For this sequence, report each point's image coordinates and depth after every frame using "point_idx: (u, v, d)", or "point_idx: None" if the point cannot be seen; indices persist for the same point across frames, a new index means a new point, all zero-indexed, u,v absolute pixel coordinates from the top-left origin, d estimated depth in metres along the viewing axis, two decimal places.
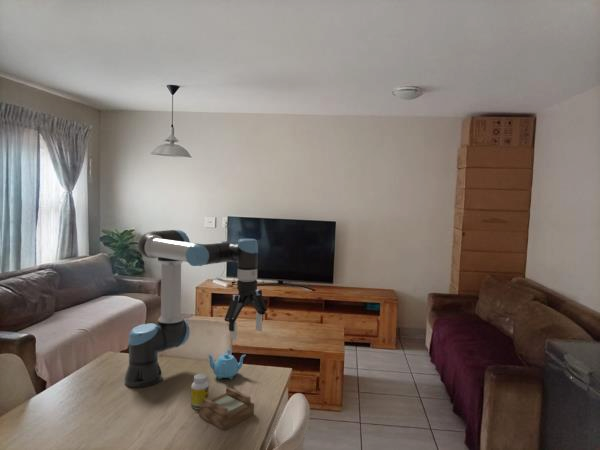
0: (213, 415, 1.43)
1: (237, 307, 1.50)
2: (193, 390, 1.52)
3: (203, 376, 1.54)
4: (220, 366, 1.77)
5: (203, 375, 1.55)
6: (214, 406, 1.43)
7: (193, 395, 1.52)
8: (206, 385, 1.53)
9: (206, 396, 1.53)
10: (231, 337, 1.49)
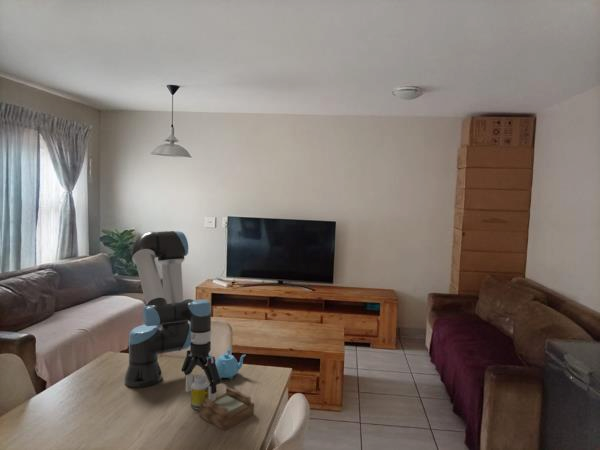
0: (213, 415, 1.43)
1: None
2: (193, 390, 1.52)
3: (203, 376, 1.54)
4: (220, 366, 1.77)
5: (203, 375, 1.55)
6: (214, 406, 1.43)
7: (193, 395, 1.52)
8: (206, 385, 1.53)
9: (206, 396, 1.53)
10: None
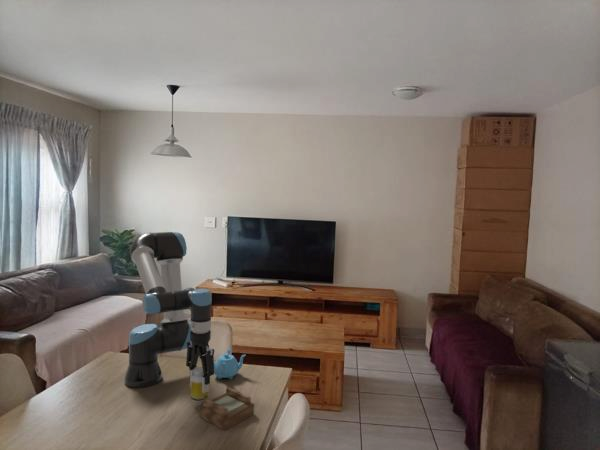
0: (213, 415, 1.43)
1: None
2: (193, 383, 1.53)
3: None
4: (220, 366, 1.77)
5: None
6: (214, 406, 1.43)
7: (193, 388, 1.53)
8: None
9: None
10: None
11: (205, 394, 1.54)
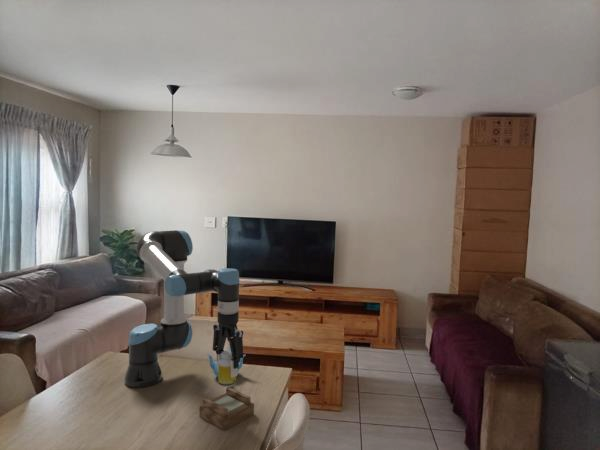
0: (213, 415, 1.43)
1: None
2: (221, 367, 1.45)
3: (231, 353, 1.47)
4: None
5: None
6: (214, 406, 1.43)
7: (221, 372, 1.45)
8: None
9: None
10: None
11: (234, 379, 1.46)
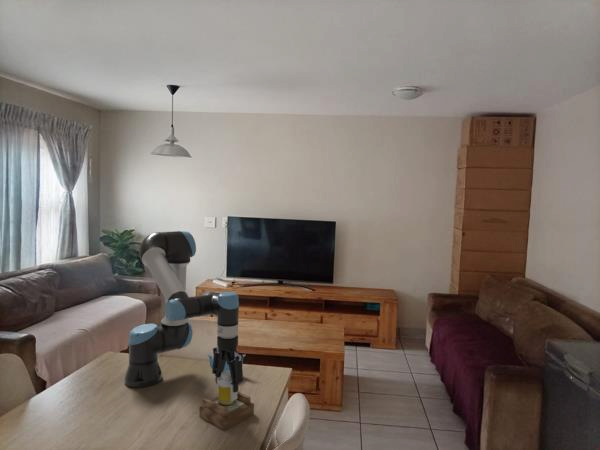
0: (213, 415, 1.43)
1: None
2: (220, 388, 1.45)
3: None
4: None
5: None
6: (214, 406, 1.43)
7: (220, 393, 1.46)
8: None
9: None
10: None
11: None
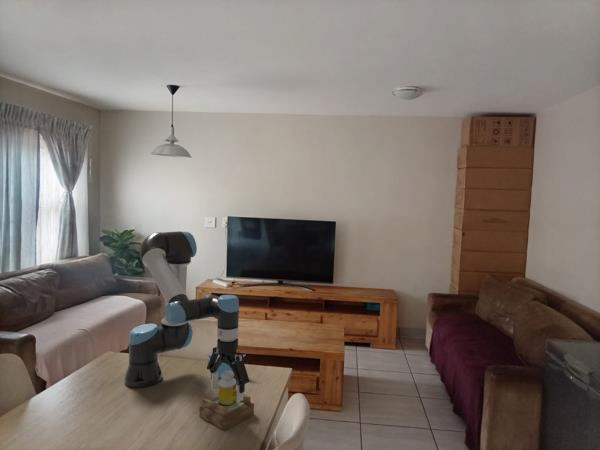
0: (213, 415, 1.43)
1: None
2: (220, 388, 1.45)
3: (230, 373, 1.48)
4: (220, 366, 1.77)
5: (230, 372, 1.49)
6: (214, 406, 1.43)
7: (220, 393, 1.46)
8: (234, 382, 1.47)
9: (234, 394, 1.47)
10: None
11: (233, 399, 1.47)
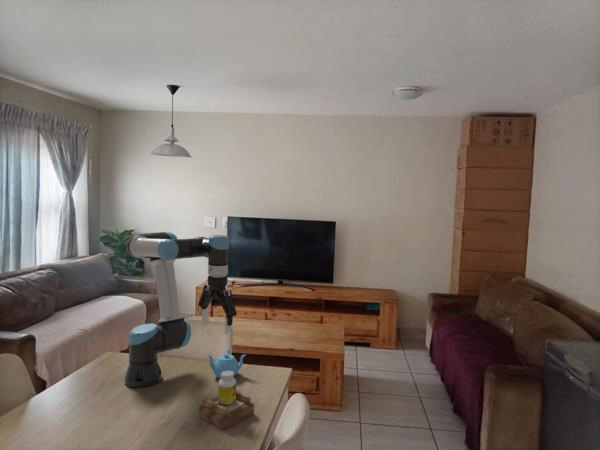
0: (213, 415, 1.43)
1: None
2: (220, 388, 1.45)
3: (230, 373, 1.48)
4: (220, 366, 1.77)
5: (230, 372, 1.49)
6: (214, 406, 1.43)
7: (220, 393, 1.46)
8: (234, 382, 1.47)
9: (234, 394, 1.47)
10: None
11: (233, 399, 1.47)
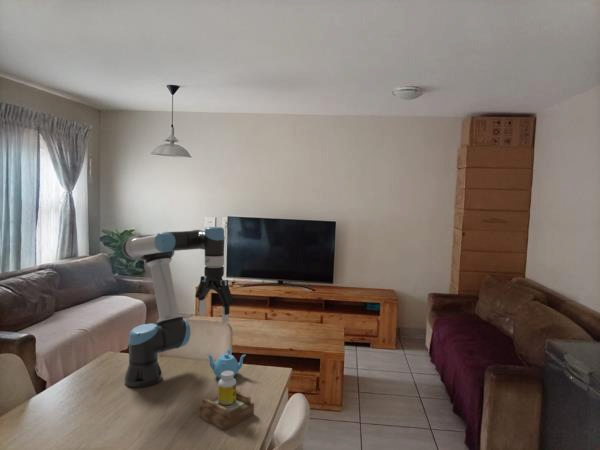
0: (213, 415, 1.43)
1: None
2: (220, 388, 1.45)
3: (230, 373, 1.48)
4: (220, 366, 1.77)
5: (230, 372, 1.49)
6: (214, 406, 1.43)
7: (220, 393, 1.46)
8: (234, 382, 1.47)
9: (234, 394, 1.47)
10: None
11: (233, 399, 1.47)
